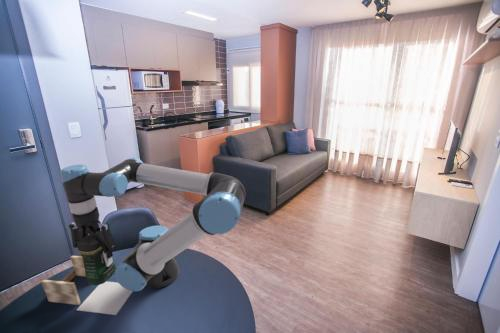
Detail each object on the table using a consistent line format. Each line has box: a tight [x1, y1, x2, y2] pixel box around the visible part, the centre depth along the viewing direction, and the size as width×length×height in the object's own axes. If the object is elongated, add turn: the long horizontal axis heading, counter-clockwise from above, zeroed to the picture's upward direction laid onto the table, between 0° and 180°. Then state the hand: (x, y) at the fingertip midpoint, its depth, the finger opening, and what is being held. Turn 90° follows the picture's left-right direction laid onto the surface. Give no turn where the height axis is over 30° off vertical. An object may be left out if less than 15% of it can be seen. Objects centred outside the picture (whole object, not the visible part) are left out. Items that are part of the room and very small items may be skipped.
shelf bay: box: [40, 255, 86, 306], centre depth 100 cm, size 14×14×10 cm
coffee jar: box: [77, 231, 117, 286], centre depth 91 cm, size 10×8×19 cm
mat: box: [76, 280, 134, 316], centre depth 97 cm, size 16×14×1 cm
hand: (99, 263), depth 92 cm, fingers closed on coffee jar, 8 cm apart
